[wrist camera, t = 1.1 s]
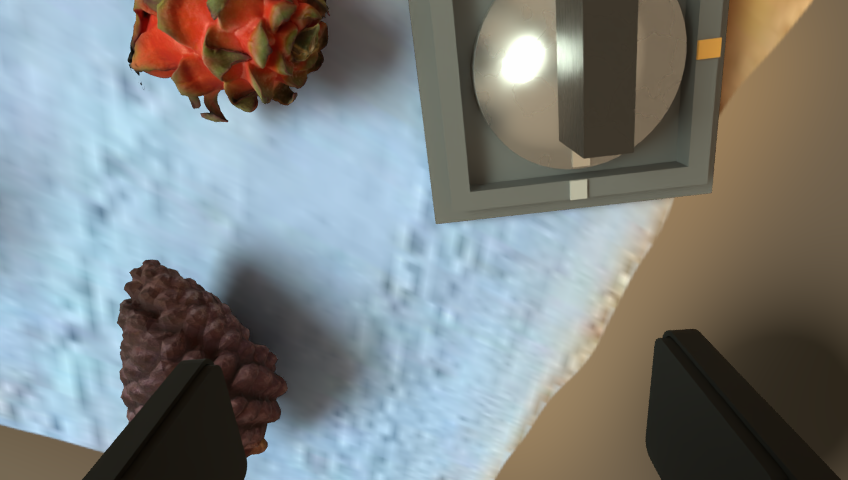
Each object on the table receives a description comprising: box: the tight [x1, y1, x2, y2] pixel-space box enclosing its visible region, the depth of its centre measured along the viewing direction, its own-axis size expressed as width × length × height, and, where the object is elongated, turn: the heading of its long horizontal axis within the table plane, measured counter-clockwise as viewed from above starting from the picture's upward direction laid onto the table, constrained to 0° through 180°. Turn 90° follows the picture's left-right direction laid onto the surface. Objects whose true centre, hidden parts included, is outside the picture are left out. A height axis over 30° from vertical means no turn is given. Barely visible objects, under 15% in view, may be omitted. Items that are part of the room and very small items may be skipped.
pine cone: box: [117, 260, 288, 458], centre depth 33 cm, size 18×10×10 cm, turn 11°
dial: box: [471, 0, 687, 169], centre depth 26 cm, size 12×12×7 cm
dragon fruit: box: [128, 0, 330, 122], centre depth 27 cm, size 8×8×12 cm
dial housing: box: [408, 0, 729, 224], centre depth 29 cm, size 18×18×3 cm
